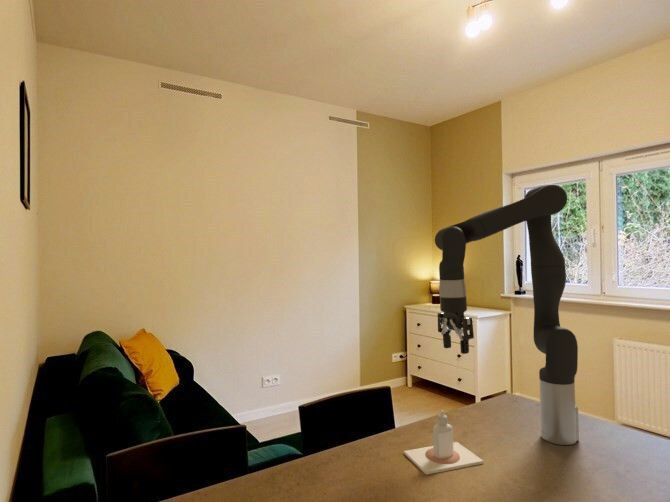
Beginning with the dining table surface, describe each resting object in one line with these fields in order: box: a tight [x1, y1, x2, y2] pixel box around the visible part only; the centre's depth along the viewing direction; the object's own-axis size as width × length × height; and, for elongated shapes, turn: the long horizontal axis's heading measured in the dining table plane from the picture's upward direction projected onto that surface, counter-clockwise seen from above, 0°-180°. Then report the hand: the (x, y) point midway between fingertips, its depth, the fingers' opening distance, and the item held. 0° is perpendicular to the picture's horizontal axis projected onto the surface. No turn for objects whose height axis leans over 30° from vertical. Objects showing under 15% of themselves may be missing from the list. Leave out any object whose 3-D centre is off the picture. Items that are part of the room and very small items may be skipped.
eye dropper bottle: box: [432, 410, 454, 459], centre depth 111 cm, size 4×6×12 cm
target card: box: [403, 441, 484, 476], centre depth 112 cm, size 17×12×1 cm
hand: (455, 350), depth 121 cm, fingers open, 8 cm apart
